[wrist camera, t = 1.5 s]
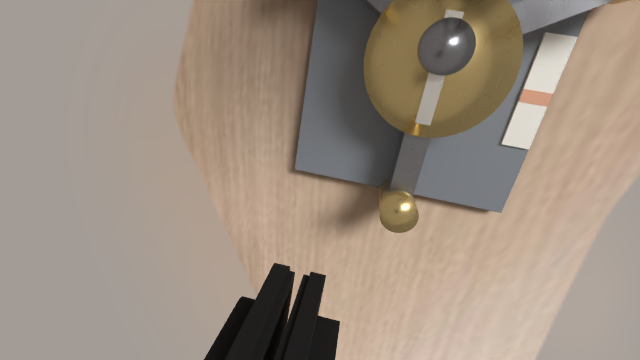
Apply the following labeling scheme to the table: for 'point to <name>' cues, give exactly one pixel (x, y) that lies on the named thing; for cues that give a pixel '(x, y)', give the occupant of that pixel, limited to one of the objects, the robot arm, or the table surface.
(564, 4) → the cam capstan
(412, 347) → the table surface
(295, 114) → the table surface
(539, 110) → the board
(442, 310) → the table surface
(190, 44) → the table surface
